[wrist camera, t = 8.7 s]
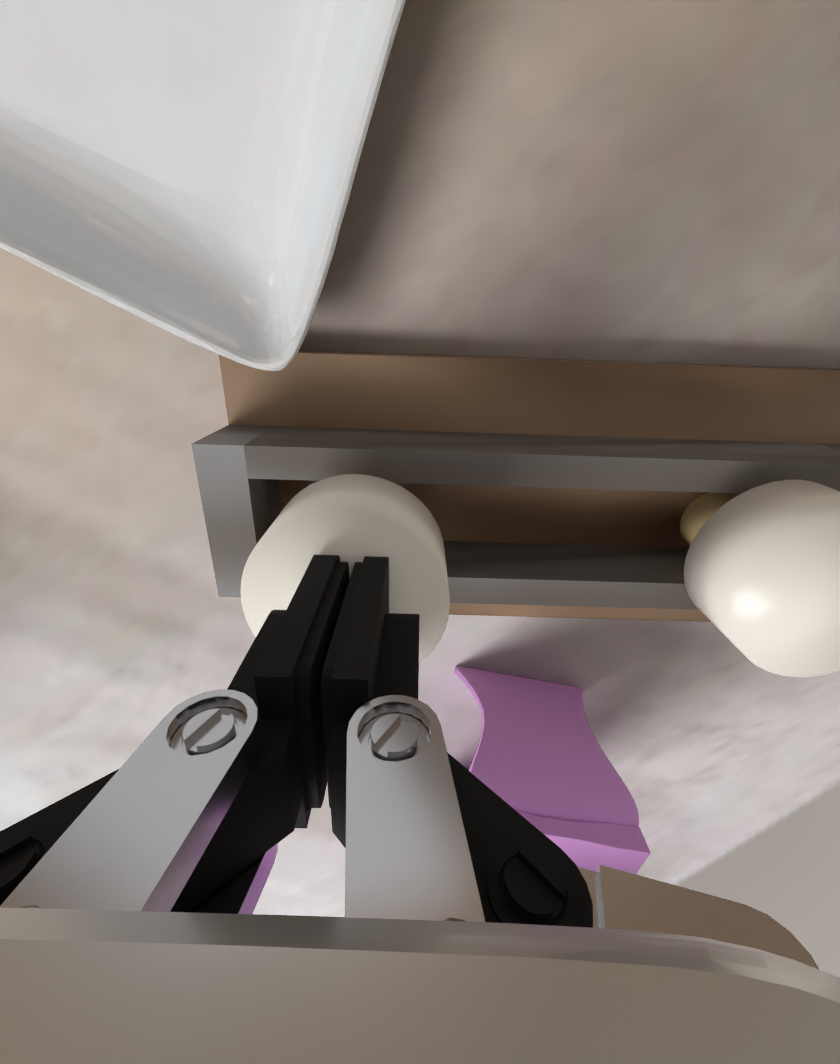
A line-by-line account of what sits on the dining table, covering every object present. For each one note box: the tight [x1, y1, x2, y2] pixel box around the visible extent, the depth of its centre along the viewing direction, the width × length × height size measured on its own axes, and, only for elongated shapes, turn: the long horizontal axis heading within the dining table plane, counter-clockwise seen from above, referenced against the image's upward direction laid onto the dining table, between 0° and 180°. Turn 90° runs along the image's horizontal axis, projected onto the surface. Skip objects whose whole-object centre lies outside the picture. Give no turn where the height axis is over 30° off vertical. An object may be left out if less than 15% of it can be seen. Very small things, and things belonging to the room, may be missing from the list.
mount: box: [192, 351, 840, 621], centre depth 16 cm, size 10×22×4 cm, turn 88°
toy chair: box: [454, 666, 650, 874], centre depth 16 cm, size 8×9×15 cm
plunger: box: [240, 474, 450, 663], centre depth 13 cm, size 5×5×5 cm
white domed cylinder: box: [680, 480, 840, 677], centre depth 14 cm, size 5×5×5 cm
